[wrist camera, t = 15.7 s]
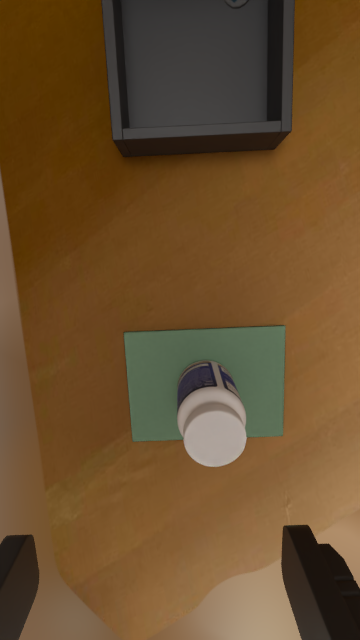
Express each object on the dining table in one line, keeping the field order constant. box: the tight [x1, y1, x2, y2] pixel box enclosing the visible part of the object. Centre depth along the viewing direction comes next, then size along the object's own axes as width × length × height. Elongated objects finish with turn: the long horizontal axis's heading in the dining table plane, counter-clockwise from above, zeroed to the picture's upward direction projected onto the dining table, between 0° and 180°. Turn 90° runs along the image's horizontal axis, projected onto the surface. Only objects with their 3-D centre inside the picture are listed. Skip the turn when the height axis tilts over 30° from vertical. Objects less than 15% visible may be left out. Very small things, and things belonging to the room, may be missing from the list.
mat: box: [124, 325, 285, 442], centre depth 35 cm, size 16×12×1 cm
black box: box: [101, 0, 295, 157], centre depth 26 cm, size 14×14×5 cm
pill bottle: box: [177, 360, 246, 467], centre depth 29 cm, size 6×6×10 cm
